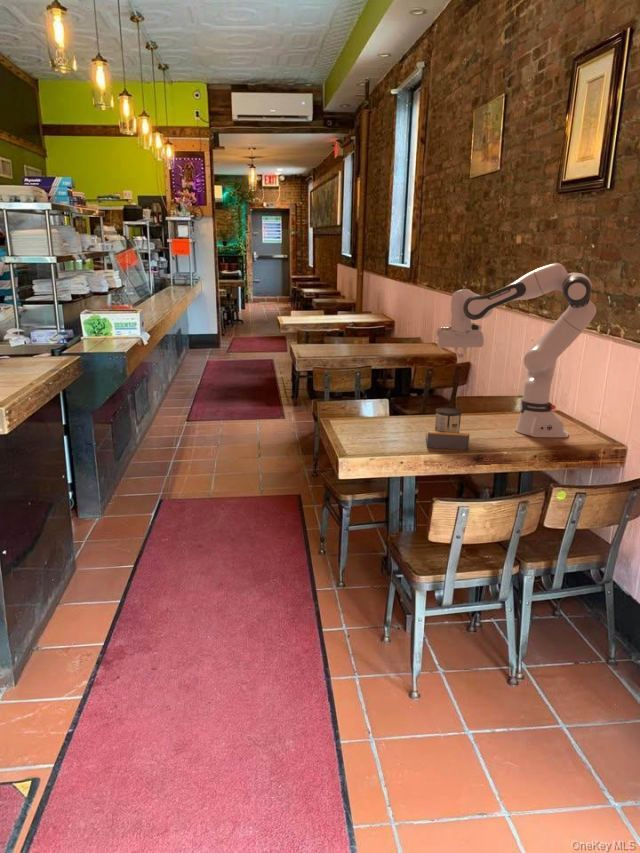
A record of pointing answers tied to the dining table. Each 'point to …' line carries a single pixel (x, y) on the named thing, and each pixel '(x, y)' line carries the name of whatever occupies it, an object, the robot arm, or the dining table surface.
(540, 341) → the robot arm
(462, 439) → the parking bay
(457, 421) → the coffee can
